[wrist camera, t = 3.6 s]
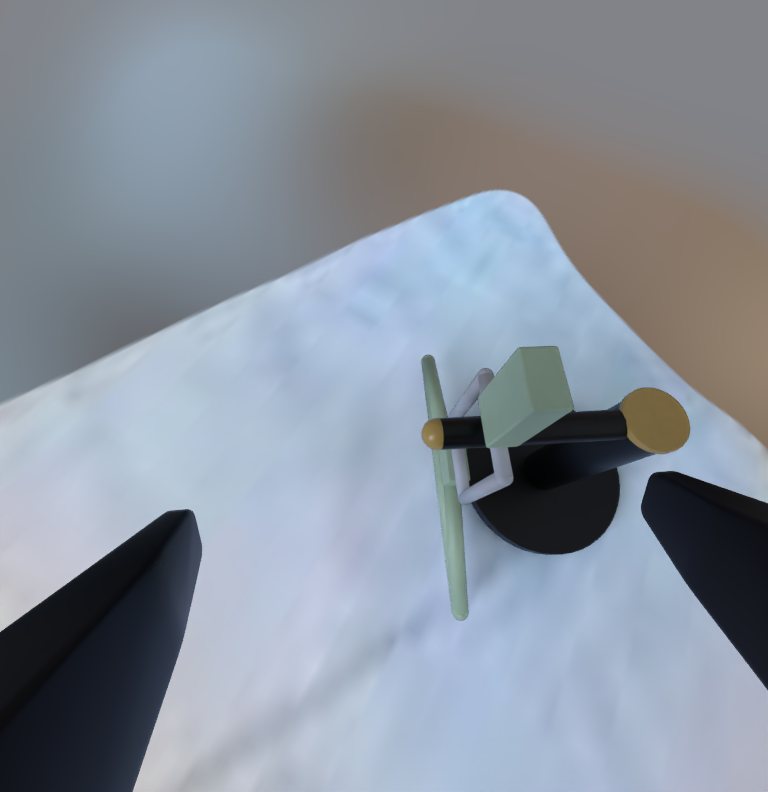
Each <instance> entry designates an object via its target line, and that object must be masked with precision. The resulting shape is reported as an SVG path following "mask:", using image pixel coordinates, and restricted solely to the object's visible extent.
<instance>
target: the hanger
mask: <svg viewBox="0 0 768 792" xmlns="http://www.w3.org/2000/svg"><path fill="white" fill-rule="evenodd" d="M421 363H422V372H423V380H424V388H425V396H426V405H427V413H428V421H429V420H431V419H434V418H450V417H463V416H464V415H465V414H466V413H467V411H468V410H469V409H470V408H471V406H472V405H473V404H474V403H475V401H476V400H477V399H478V403H479V409H480V414H481V420H482V426H483V432H484V438H485V444H486V447H487V448H490V451H491V457H492V462H493V468H494V473H493V474H491V475H490V476H488V477H486V478H484V479H483V480H481V481H479V482H478V483H476V484H474V485H473V486H471V487H469V481H470V472H469V466H468V459H467V453H466V449H448V450H434V449H432V454H433V462H434V470H435V479H436V487H437V495H438V503H439V512H440V520H441V528H442V536H443V544H444V553H445V561H446V569H447V577H448V586H449V594H450V602H451V610H452V615H453V616H454V618H455V619H457V620H460V621H462V620H465V619H466V618H467V616H468V614H469V609H468V595H467V581H466V566H465V552H464V538H463V523H462V509H461V504H463V505H467V504H469V503H471V502H474V501H476V500H478V499H480V498H482V497H484V496H487V495H489V494H491V493H493V492H495V491H498V490H500V489H502V488H504V487H506V486H508V485H510V484H511V483H512V482H513V473H512V467H511V462H510V457H509V452H508V447H517V446H519V445H521V444H522V443H524V442H525V441H527V440H528V439H530V438H531V437H533V436H534V435H536V434H537V433H539V432H540V431H542V430H543V429H545V428H546V427H548V426H549V425H551V424H552V423H554V422H555V421H557V420H558V419H560V418H562V417H563V416H565V415H566V414H568V413H569V412H571V411H572V410H573V409H574V406H573V402H572V398H571V395H570V391H569V387H568V383H567V379H566V376H565V372H564V368H563V364H562V360H561V357H560V353H559V349H558V347H557V346H542V347H519V348H517V349H516V351H515V352H514V353H513V354H512V356H511V357H510V358H509V359H508V361H507V362H506V363H505V364H504V366H503V367H502V368H501V369H500V371H499V372H498V373H497V374H496V376H495V377H494V374H493V372H492V370H490V369H488V368H483V369H481V370H480V371H479V372H478V374H477V375H476V377H475V378H474V379H473V381H472V382H471V384H470V385H469V387H468V388H467V389H466V391H465V392H464V394H463V395H462V397H461V398H460V399H459V401H458V402H457V404H456V405H455V407H454V408H453V410H452V411H451V412H450V414H449V415H448V416H447V412H446V408H445V403H444V399H443V394H442V390H441V386H440V381H439V377H438V372H437V368H436V364H435V359H434V357H433V356H431V355H425V356H424V357H423V358H422V360H421Z"/></svg>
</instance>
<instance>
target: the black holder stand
mask: <svg viewBox="0 0 768 792" xmlns="http://www.w3.org/2000/svg"><path fill="white" fill-rule="evenodd" d="M421 434H422V439H423V442H424V443H425V444H426V445H427V446H428V447H429V448H431V449H434V450H448V449H466V453H467V459H468V466H469V472H470V481H469V487H471V486H473V485H474V484H476V483H478V482H479V481H481V480H483V479H484V478H486V477H488V476H490V475H491V474H493V473H494V468H493V462H492V457H491V451H490V448H487V447H486V444H485V438H484V432H483V426H482V420H481V416H472V417H450V418H434V419H431V420H429V421H428V422H426V423H425V425H424V426H423V428H422V433H421ZM689 434H690V423H689V419H688V416H687V414H686V412H685V410H684V409H683V407H682V406H681V404H680V403H679V402H678V401H677V400H676V399H675V398H673V397H672V396H671V395H669V394H668V393H666V392H664V391H662V390H659V389H655V388H640V389H637V390H634V391H633V392H631V393H629V394H628V395H627V396H625V397H624V399H623V400H622V402H620V403H618V404H616V405H615V406H613V407H611V408H610V409H608V410H601V411H579V412H576V411H574V410H572V411H571V412H569V413H568V414H566V415H565V416H563V417H562V418H560V419H558V420H557V421H555V422H554V423H552V424H551V425H549V426H548V427H546V428H545V429H543V430H542V431H540V432H539V433H537V434H536V435H534V436H533V437H531V438H530V439H528V440H527V441H525V442H524V443H522V444H521V445H519V446H517V447H508V452H509V457H510V462H511V467H512V473H513V482H512V483H511V484H510V485H508V486H506V487H504V488H502V489H500V490H498V491H495V492H493V493H491V494H489V495H487V496H484V497H482V498H480V499H478V500H476V501H474V502H472V504H473V506H474V508H475V510H476V511H477V513H478V514H479V516H480V517H481V519H482V520H483V521H484V522H485V523H486V525H487V526H488V527H489V528H490V529H491V530H492V531H493V532H494V533H495V534H497V535H498V536H499V537H501V538H502V539H503V540H505V541H506V542H508V543H510V544H512V545H513V546H515V547H518V548H520V549H522V550H525V551H529V552H532V553H537V554H545V555H556V554H567V553H572V552H575V551H579V550H582V549H583V548H585V547H587V546H589V545H591V544H592V543H594V542H595V541H596V540H598V539H599V538H600V537H601V536H602V535H603V534H604V533H605V531H606V530H607V528H608V527H609V526H610V524H611V522H612V520H613V518H614V516H615V513H616V510H617V507H618V502H619V496H620V483H619V475H618V470H617V467H619V466H622V465H625V464H628V463H631V462H634V461H636V460H639V459H642V458H645V457H648V456H651V455H654V454H667V453H670V452H673V451H676V450H678V449H680V448H681V447H683V445H684V444H685V443H686V442H687V440H688V438H689Z"/></svg>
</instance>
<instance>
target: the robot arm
mask: <svg viewBox="0 0 768 792" xmlns="http://www.w3.org/2000/svg"><path fill="white" fill-rule="evenodd" d="M641 511H642V515H643V517H644V519H645V520H646V522H647V524H648V525H649V527H650V528H651V530H652V531H653V533H654V534H655V536H656V538H657V539H658V541H659V542H660V544H661V545H662V547H663V548H664V550H665V551H666V553H667V555H668V556H669V558H670V559H671V561H672V562H673V564H674V565H675V567H676V569H677V570H678V572H679V573H680V575H681V576H682V578H683V579H684V581H685V582H686V584H687V585H688V587H689V588H690V589H691V591H692V592H693V593H694V595H695V596H696V597H697V599H698V600H699V601H700V603H701V604H702V605H703V606H704V608H705V609H706V610H707V612H708V613H709V614H710V616H711V617H712V618H713V619H714V621H715V622H716V623H717V625H718V626H719V627H720V629H721V630H722V631H723V632H724V634H725V635H726V636H727V638H728V639H729V640H730V642H731V643H732V644H733V645H734V647H735V648H736V649H737V651H738V652H739V653H740V655H741V656H742V657H743V658H744V660H745V661H746V662H747V664H748V665H749V666H750V668H751V669H752V670H753V671H754V673H755V674H756V675H757V677H758V678H759V679H760V681H761V682H762V683H763V684H764V686H765V687H766V688H767V690H768V503H765V502H762V501H759V500H757V499H754V498H751V497H748V496H745V495H742V494H739V493H736V492H733V491H731V490H728V489H725V488H722V487H719V486H716V485H713V484H710V483H707V482H705V481H702V480H699V479H696V478H693V477H690V476H687V475H684V474H682V473H679V472H675V471H666V472H656V473H653V474H652V475H651V476H650V478H649V480H648V483H647V487H646V490H645V493H644V497H643V500H642V504H641ZM201 557H202V544H201V539H200V535H199V531H198V526H197V522H196V518H195V515H194V513H193V511H191V510H189V509H185V510H172V511H167V512H166V513H164V514H163V515H161V516H160V517H158V518H157V519H156V520H154V521H153V522H152V523H150V524H149V525H147V526H146V527H145V528H143V529H142V530H140V531H139V532H138V533H136V534H135V535H134V536H132V537H131V538H129V539H128V540H127V541H125V542H124V543H123V544H121V545H120V546H118V547H117V548H116V549H114V550H113V551H111V552H110V553H109V554H107V555H106V556H105V557H103V558H102V559H100V560H99V561H98V562H96V563H95V564H94V565H92V566H91V567H89V568H88V569H87V570H85V571H84V572H82V573H81V574H80V575H78V576H77V577H76V578H74V579H73V580H71V581H70V582H69V583H67V584H66V585H65V586H63V587H62V588H60V589H59V590H58V591H56V592H55V593H54V594H52V595H51V596H49V597H48V598H47V599H45V600H44V601H42V602H41V603H40V604H38V605H37V606H36V607H34V608H33V609H31V610H30V611H29V612H27V613H26V614H24V615H23V616H22V617H20V618H19V619H18V620H16V621H15V622H13V623H12V624H11V625H9V626H8V627H7V628H5V629H4V630H2V631H1V632H0V792H133V789H134V786H135V783H136V780H137V777H138V774H139V771H140V768H141V765H142V762H143V759H144V756H145V753H146V750H147V747H148V744H149V741H150V738H151V735H152V732H153V729H154V726H155V723H156V720H157V717H158V714H159V711H160V708H161V705H162V702H163V699H164V697H165V694H166V691H167V688H168V685H169V682H170V679H171V676H172V673H173V670H174V667H175V664H176V661H177V658H178V655H179V651H180V648H181V645H182V642H183V638H184V633H185V629H186V625H187V621H188V616H189V612H190V607H191V603H192V598H193V594H194V589H195V584H196V580H197V575H198V571H199V566H200V562H201Z"/></svg>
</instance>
